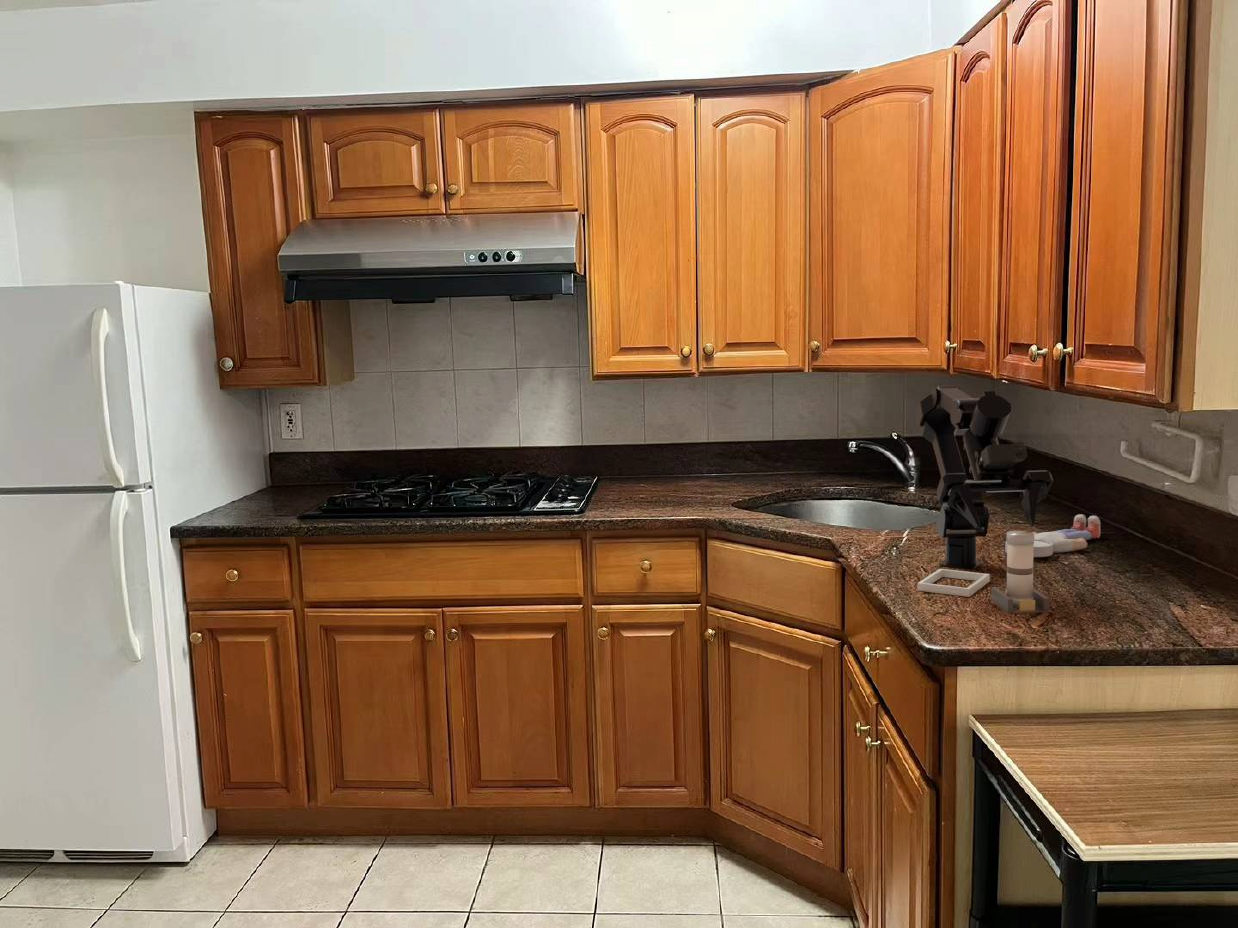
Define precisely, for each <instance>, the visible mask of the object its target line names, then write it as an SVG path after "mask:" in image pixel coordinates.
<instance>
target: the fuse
mask: <svg viewBox="0 0 1238 928" xmlns="http://www.w3.org/2000/svg"><path fill="white" fill-rule="evenodd" d="M1006 541H1007V553H1006V590H1007V594H1006V595H1007V596H1009V597H1010V598H1011V599H1013V607H1016V608H1019V600H1033V588H1034V557H1033V548H1034V533H1032V531H1029V530H1028V531H1027V530H1026V531H1025V530H1010V531H1007V532H1006Z"/></svg>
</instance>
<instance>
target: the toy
mask: <svg viewBox="0 0 1238 928" xmlns="http://www.w3.org/2000/svg"><path fill="white" fill-rule="evenodd" d="M1031 532H1032V531H1031ZM1032 533H1034V548H1033V558H1044V557H1045V558H1046V557H1050V556H1053V554H1055V553H1056V554H1058V553H1067V552H1068V553H1069V552H1072V551H1079V550H1083V549H1086V548H1087V547H1088V542H1087V541H1091V540H1092V539H1096V538H1098V539H1099V538H1100V536H1101V520H1100V518H1099V517H1098V516H1097V515H1090V516H1089V517H1088V518H1087V517H1086V515H1085V514H1082V513H1081V514H1080V513H1078V514H1077V515H1075V516H1074V518H1073V525H1072V527H1070V529H1069V528H1068V529H1067V528H1066V529H1065V528H1064V529H1059V530H1055V531H1045V532H1044V531H1043V532H1039V533H1038V532H1035V531H1033V532H1032ZM1004 547H1005V549H1004V551H1005V553H1006V554H1007V540H1005V545H1004Z"/></svg>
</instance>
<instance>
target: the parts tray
mask: <svg viewBox="0 0 1238 928" xmlns="http://www.w3.org/2000/svg"><path fill="white" fill-rule="evenodd" d="M941 578H949V579H950V578H951V579H959V580H967V581H974V582H972V583H971V584H970V585H969V586H967V587H961V586H952V585H945V584H944V585H943V584H936V583H935V582H936V581H938V580H940V579H941ZM990 579H991V575H990V573H983V572H982V573H981V572H973V571H964V570H957V569H955V570H954V569H947V568H939V569H937V570H935V571H934V572H933V573H931V574H929V575H927V576H926V577H924V579H922V580H920V581H918V582H917V585H916V586H917V591H919V592H927V593H934V594H941V595H942V594H944V595H951V596H960V597H967V598H968V597H969V598H970V597H971V596H972V595H973V594H975V593H977V591H979V590H980V589H982V588H983V587H984V586H985V585H987V584H988V583H990Z"/></svg>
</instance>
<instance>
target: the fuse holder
mask: <svg viewBox="0 0 1238 928" xmlns="http://www.w3.org/2000/svg"><path fill="white" fill-rule="evenodd" d="M990 590H991V592H990V595H991V596H990V597H988V598H989V600H991V601H992V602H993V603H994V604H996V605H997V606H998V607H999V608H1000V609H1002V610H1004V612H1006V613H1007V614H1012V613H1013V614H1017V613H1020V614H1021V613H1022V614H1023V613H1025V614H1026V613H1052V612H1053V611H1052V610H1051V609H1050V600H1051V599H1050V598H1049V596H1046V594H1044V593H1042V592H1040V591H1039V590H1037V589H1036V588H1035V587H1033V600H1019V608H1016V607H1013V599H1011V598H1010V597H1009V596H1007V595H1006V594H1007V589H1004V592H1003V590H1001V589H999V588H998V587H997V586H991V588H990Z"/></svg>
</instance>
